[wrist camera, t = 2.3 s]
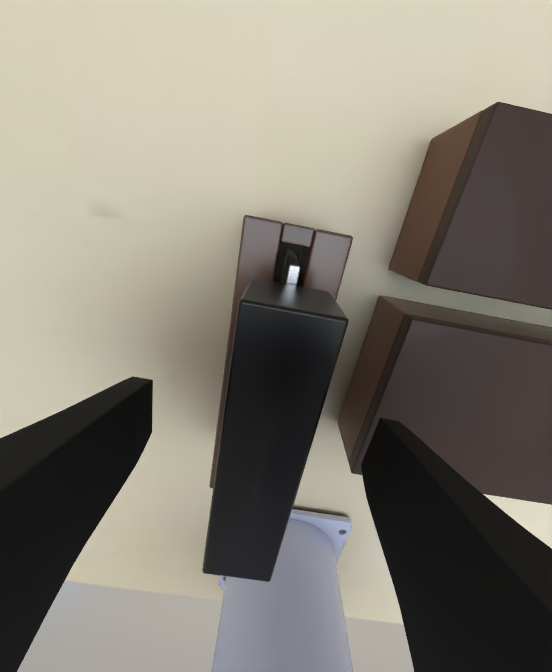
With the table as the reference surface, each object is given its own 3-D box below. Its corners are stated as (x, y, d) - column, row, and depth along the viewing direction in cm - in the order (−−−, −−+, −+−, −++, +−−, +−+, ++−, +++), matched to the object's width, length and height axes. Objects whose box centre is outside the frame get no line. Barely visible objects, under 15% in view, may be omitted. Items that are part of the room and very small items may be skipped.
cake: (518, 452, 16) (578, 509, 13) (336, 422, 16) (351, 474, 12) (597, 336, 13) (698, 372, 10) (379, 295, 13) (412, 319, 10)
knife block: (282, 444, 16) (282, 499, 13) (223, 435, 16) (209, 488, 13) (334, 233, 12) (354, 236, 9) (254, 217, 12) (243, 214, 8)
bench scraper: (274, 429, 16) (267, 592, 9) (236, 423, 16) (200, 583, 9) (314, 254, 12) (358, 294, 5) (265, 244, 12) (242, 272, 5)
